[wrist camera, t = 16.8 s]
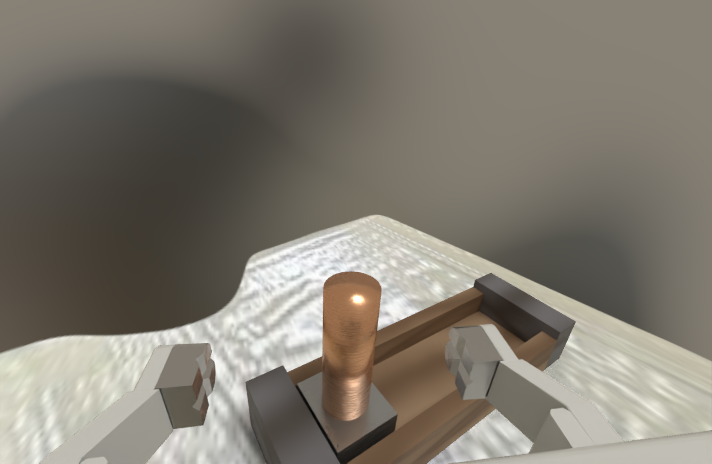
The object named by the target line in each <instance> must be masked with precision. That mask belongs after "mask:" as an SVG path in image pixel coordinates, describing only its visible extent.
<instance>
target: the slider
mask: <svg viewBox="0 0 712 464" xmlns="http://www.w3.org/2000/svg"><path fill="white" fill-rule="evenodd" d="M380 299H381V286H380V284H379V282H378V281H377V280H376V279H374V278H373V277H371V276H369V275H367V274H364V273H360V272H341V273H338V274H335V275H333V276H331V277H329V278H328V279H327V280H326V282H325V283H324V287H323V353H322V372H320V373H318V374H316V375H314V376H312V377H310V378H308V379H306V380H304V381H302V382H300V383H298V384H297V390H298V392H299V394H300V396H301V397H302V399H303V401H304V402H305V404H306V406H307V408H308V409H309V411H310V413H311V414H312V416H313V418H314V420H315V421H316V423H317V425H318V426H319V428H320V430H321V432H322V433H323V435H324V437H325V438H326V440H327V442H328V444H329V445H330V447H331V449H332V451H333V452H334V454H335V456H336V457H337V459H338V461H339V463H340V464H347V463H348V462H350V461H351V460H353V459H354V458H356V457H357V456H359V455H360V454H362V453H363V452H365V451H366V450H368V449H369V448H370V447H372V446H373V445H375V444H376V443H378V442H379V441H381V440H382V439H384V438H385V437H387V436H388V435H390V434H391V433H393V432H394V431H395V427H396V421H397V416H398V414H397V412H396V411H395V410H394V409H393V407H392V406H391V405H390V404H389V402H388V401H387V400H386V399H385V398H384V396H383V395H382V394H381V393H380V391H379V390H378V389H377V388H376V387H375V385H374V384H373V383H372V382H371V380H372V371H373V362H374V353H375V344H376V335H377V326H378V317H379V308H380Z"/></svg>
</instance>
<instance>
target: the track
mask: <svg viewBox="0 0 712 464" xmlns="http://www.w3.org/2000/svg"><path fill="white" fill-rule="evenodd" d="M486 324H493V325H494V326H495V327H496V328H497V330H498V331H499V332H500V334H501V335H502V337H503V338H504V340H505V341H506V342H507V344H508V345H509V347H510V348H511V350H512V351H513V352H514V354H515V355H516V357H517V358H518V359H519V360H520V359H523V360H524V361H526V362H528V363H529V364H531V365H532V366H534V367H536V368H537V369H539V370H540V371H543V370H545V369H546V368H547V367H548V366H550V365H551V364H552V363H553V362H555V361H556V360H557V359H558V358H560V355H561V353H562V351H563V349H564V347H565V344H566V342H567V340H568V338H569V336H570V333H571V331H572V329H573V327H574V325H575V321H574V320H572V319H570V318H568V317H567V316H565V315H563V314H562V313H560V312H558V311H556V310H555V309H553V308H551V307H549V306H548V305H546V304H544V303H542V302H541V301H539V300H537V299H535V298H534V297H532V296H530V295H528V294H527V293H525V292H523V291H521V290H520V289H518V288H516V287H515V286H513V285H511V284H509V283H508V282H506V281H504V280H502V279H501V278H499V277H497V276H495V275H494V274H492V273H490V274H488V275H485V276H483V277H481V278H479V279H476V280H475V283H474V287H472V288H470V289H468V290H466V291H464V292H461V293H459V294H457V295H455V296H453V297H450V298H448V299H446V300H444V301H442V302H440V303H437V304H435V305H433V306H431V307H429V308H426V309H424V310H422V311H420V312H418V313H416V314H413V315H411V316H409V317H407V318H405V319H403V320H400V321H398V322H396V323H394V324H392V325H389V326H387V327H385V328H383V329H381V330H379V331H377V335H376V344H375V353H374V362H373V371H372V380H371V382H372V383H373V384H374V385H375V387H376V388H377V389H378V390H379V391H380V393H381V394H382V395H383V396H384V398H385V399H386V400H387V401H388V402H389V404H390V405H391V406H392V407H393V409H394V410H395V411H396V412H397V414H398V416H397V421H396V427H395V431H394V432H393V433H391V434H390V435H388V436H387V437H385V438H384V439H382V440H381V441H379V442H378V443H376V444H375V445H373V446H372V447H370V448H369V449H368V450H366V451H365V452H363V453H362V454H360V455H359V456H357V457H356V458H354V459H353V460H351V461H350V462H348V463H347V464H426V463H428V462H429V461H430V460H431V459H433V458H434V457H435V456H436V455H438V454H439V453H440V452H441V451H443V450H444V449H445V448H446V447H448V446H449V445H450V444H452V443H453V442H454V441H455V440H457V439H458V438H459V437H460V436H462V435H463V434H464V433H465V432H467V431H468V430H469V429H470V428H472V427H473V426H474V425H475V424H477V423H478V422H479V421H480V420H482V419H483V418H484V417H485V416H487V415H488V414H489V413H491V412H492V411H493V410H494V409H496V408H495V407H494V406H493V405H491V404H490V403H489V402H488V401H487V400H486V398H483V399H469V400H462V398H461V396H460V393H459V391H458V389H457V387H456V385H455V379H456V376H455V375H453V374H452V373H451V372H450V371H449V369H448V367H447V364H446V360H445V347H446V344H447V343H448V342H449V341H450V338H449V336H448V334H449V330H450V329H451V327H459V326H472V325H486ZM320 372H322V357H320V358H318V359H315V360H313V361H311V362H309V363H307V364H305V365H302V366H300V367H298V368H296V369H294V370H292V371H289V372H287V371H286V370H285V368H284V366H281V367H278V368H276V369H274V370H272V371H269V372H267V373H265V374H263V375H260V376H258V377H256V378H254V379H251V380H249V381H247V382H246V389H247V396H248V404H249V411H250V419H251V425H252V427H253V430H254V432H255V435H256V437H257V440H258V442H259V444H260V447H261V449H262V452H263V454H264V457H265V459H266V462H267V464H340V463H339V461H338V459H337V457H336V456H335V454H334V452H333V451H332V449H331V447H330V445H329V444H328V442H327V440H326V438H325V437H324V435H323V433H322V432H321V430H320V428H319V426H318V425H317V423H316V421H315V420H314V418H313V416H312V414H311V413H310V411H309V409H308V408H307V406H306V404H305V402H304V401H303V399H302V397H301V396H300V394H299V392H298V390H297V384H298V383H300V382H302V381H304V380H306V379H308V378H310V377H312V376H314V375H316V374H318V373H320Z"/></svg>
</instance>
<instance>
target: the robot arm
mask: <svg viewBox="0 0 712 464" xmlns="http://www.w3.org/2000/svg"><path fill="white" fill-rule="evenodd" d="M448 336H449V338H450V341H449V342H448V343H447V344H446V347H445V360H446V364H447V367H448V369H449V371H450V372H451V373H452V374H453V375H455V376H456V379H455V385H456V387H457V389H458V391H459V393H460V396H461V398H462V400H469V399H483V398H486V400H487V401H488V402H489V403H490V404H491V405H493V406H494V407H495V408H496V409H497V410H498V411H499V412H500V413H501V414H502V415H503V416H505V417H506V418H507V419H508V420H509V421H510V422H511V423H512V424H513V425H514V426H515V427H517V428H518V429H519V430H520V431H521V432H522V433H523V434H524V435H525V436H526V437H527V438H529V439H530V440H531V441H532V442H533V443H534V444H533V446H532V448H531V450H530V452H529V454H522V455H514V456H506V457H498V458H490V459H482V460H474V461H466V462H458V463H450V464H712V430H711V431H703V432H696V433H688V434H680V435H672V436H664V437H656V438H648V439H640V440H632V441H624V440H623V439H622V438H621V437H620V435H619V434H618V433H617V432H616V430H615V429H614V428H613V427H612V425H611V424H610V423H609V422H608V421H607V419H606V418H605V417H604V416H603V414H602V413H601V412H600V411H599V410H598V408H597V407H596V406H595V405H594V404H593V403H592V402H590V401H589V400H587V399H585V398H584V397H582V396H580V395H579V394H577V393H576V392H574V391H572V390H571V389H569V388H568V387H566V386H564V385H563V384H561V383H560V382H558V381H556V380H555V379H553V378H552V377H550V376H548V375H547V374H545V373H544V372H542V371H540V370H539V369H537V368H536V367H534V366H532V365H531V364H529V363H528V362H526V361H524V360H523V359H520V360H519V359H518V358H517V357H516V355H515V354H514V352H513V351H512V350H511V348H510V347H509V345H508V344H507V342H506V341H505V340H504V338H503V337H502V335H501V334H500V332H499V331H498V330H497V328H496V327H495V326H494V325H493V324H486V325H472V326H459V327H451V329H450V330H449V334H448ZM211 353H212V350H211V346H210V344H209V343H201V344H177V345H160V346H158V347H157V348H156V349H155V350H154V351H153V353H152V355H151V357H150V359H149V361H148V363H147V365H146V367H145V369H144V371H143V373H142V375H141V377H140V379H139V381H138V383H137V385H136V387H135V389H134V391H130V392H127V393H126V394H125V395H123V396H122V397H121V398H120V399H118V400H117V401H116V402H115V403H113V404H112V405H111V406H109V407H108V408H107V409H106V410H104V411H103V412H102V413H101V414H99V415H98V416H97V417H96V418H94V419H93V420H92V421H91V422H89V423H88V424H87V425H86V426H84V427H83V428H82V429H81V430H79V431H78V432H77V433H76V434H74V435H73V436H72V437H71V438H69V439H68V440H67V441H65V442H64V443H63V444H62V445H60V446H59V447H58V448H57V449H55V450H54V451H53V452H52V453H50V454H49V455H48V456H47V457H45V458H44V459H43V460H42V461H40V463H39V464H146V462H147V461H148V460H149V459H150V458H151V457H152V455H153V454H154V453H155V452H156V451H157V450H158V448H159V447H160V446H161V445H162V444H163V442H164V441H165V440H166V439H167V438H168V437H169V435H170V434H171V433H172V432H173V429H178V428H186V427H194V426H202V425H204V421H205V417H206V414H207V410H208V406H209V403H208V399H207V397H208V396H209V395H210V394H211V393H212V391H213V387H214V383H215V374H216V373H215V363H214V361H213V360H212V359H210V356H211Z"/></svg>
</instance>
